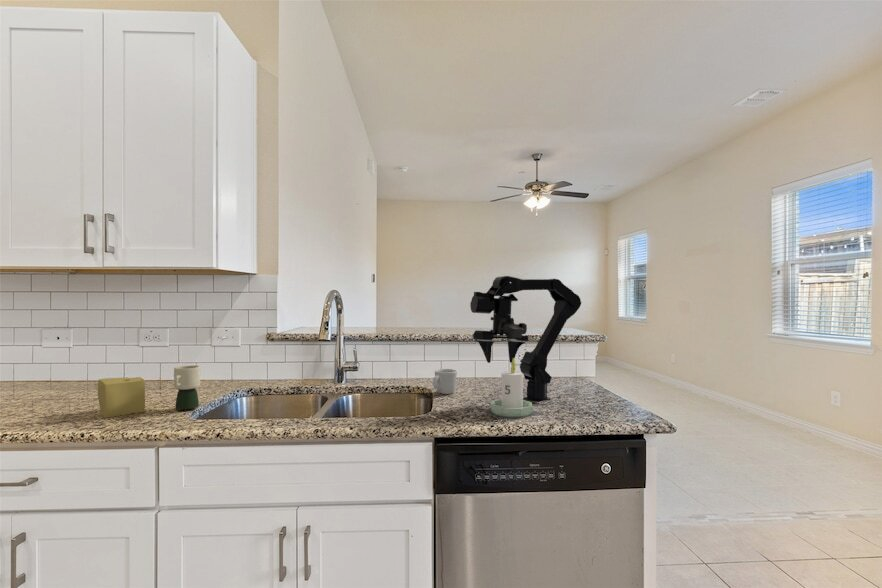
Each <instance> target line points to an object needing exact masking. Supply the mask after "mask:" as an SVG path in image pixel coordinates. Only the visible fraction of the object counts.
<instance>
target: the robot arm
mask: <svg viewBox="0 0 882 588" xmlns="http://www.w3.org/2000/svg"><path fill="white" fill-rule="evenodd" d="M545 290H546V291H548V292H549V294H550V297H551V298H552V299H553V301H554V305H553V315H552V316H551V318H550V320H549V322H548V323H547V326H546V327H545V329H544V331H543V332H542V335H541V336H540V338H539V340H538V342H537V344H536V346H535V347H534V349H533V350H531V351H525V352H524V355H523V357H522V358H521V359H520V361H519V362H520V364H519V369H520V372H521V373H523V378H524V380H527V381H526V382H527V383H526V384H527V385H526V396H523V400H527V401H531V402H537V403H540V402H544V401H551V400H552V399H551V398H550V397H548V384H550V383H551V380H552V376H551V375H550V373H548V371H547V370H546V369H547V366H548V355H549V354H550V352H551V350H552V348H553V346H554V345H555V342H556V341H557V339H558V337H559V335H560V333H561V332H562V330H563V328H564V326H565V324H566V323H567V320H569V319H570V318H571V317H573V316H574V315H575V314H576V313H577V312H578V311H579V309H580V308H581V306H582V301H581V297H580V296H579V295H578V294H576V293H575V292H574V291H573V290H572V289H571V288H569V287H568V286H566V284H564V283H563V282H562V281H561V280H560V279H558V278H549V279H548V278H547V279H545V278H542V279H541V278H535V279H532V278H531V279H527V278H525V279H523V278H519V277H514V276H511V275H502V276H496V277H495V278H494V280H493V282H492V285H491V287H490V288H489V289H488V290H487V291H486V292H481V291H473V296H472V297H471V301H470V305H469V307H470V310H471V313H473V314H487V315H488V314H491V313H492V312H493V314H492V316H491V317H490V321H492V329H490V330H475V331H474V332H473V334H472V338H473V340H476V341H475V342H477V343H478V344H479V346H480V348H481V350H482V352H483V355H484V356H485V360H486V362H487V363H488V364H490V363H491V360H492V348H493V347H492V346H493V344H494V343H495V341H493V339H499V340H502V339H503V340H504V339H505V340H507V339H508V340H507V349H508V358H509V359H508V361H509V363H511V364H512V359H513V358H514V359H515V358H516V356H517V353H518V351H519V349H520V347H521V346H522V345H523V344H525V345H526V342H529V335H528V333H527V329H528V326H527V324H526V323H523V322H519V323H515V318H513V317H512V302H518V301H519V300H518V298H517V297H516V296H515V295H514V294H515V293H517V292H521V291H545ZM506 294H508V295H506ZM496 297H497V298H496Z"/></svg>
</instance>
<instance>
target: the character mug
mask: <svg viewBox="0 0 882 588" xmlns="http://www.w3.org/2000/svg"><path fill="white" fill-rule="evenodd" d="M173 378H174V379H173V380H174V382H173V387H174V389H176V390H178V391H177V394H176V399H175V407H174V409H175V410H176V411H177V410H183V411H184V410H185V411H186V410H190V409H197V408H199V406H200V404H199V395H198V391H197V388H199V387H201V366H200V365H194V364H193V365H180V366H179V365H178V366H176V367H174V368H173Z"/></svg>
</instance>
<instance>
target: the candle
mask: <svg viewBox="0 0 882 588" xmlns="http://www.w3.org/2000/svg"><path fill="white" fill-rule="evenodd" d="M523 385H524V374H523V373H522V372H521V371H516V360H515V358H513V359H512V363H511V367H510V371H509V370H507V371H502V372H501V399H502V407H507V408H521V407H523V400H524V386H523Z"/></svg>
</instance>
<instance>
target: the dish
mask: <svg viewBox="0 0 882 588" xmlns="http://www.w3.org/2000/svg"><path fill="white" fill-rule="evenodd" d="M532 402H533V401H530V400H526V399H523V407H521V408H507V407H502V398H500V399H498V398H497V399H493V400H491V403H490V409H491V412H492V413H493V414H495V415H498V416H503V417H525V418H527V417H526V416H529V415H531V414H532V411H533V410H534V409H533V403H532ZM495 415H494V416H495ZM498 416H497V417H498Z"/></svg>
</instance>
